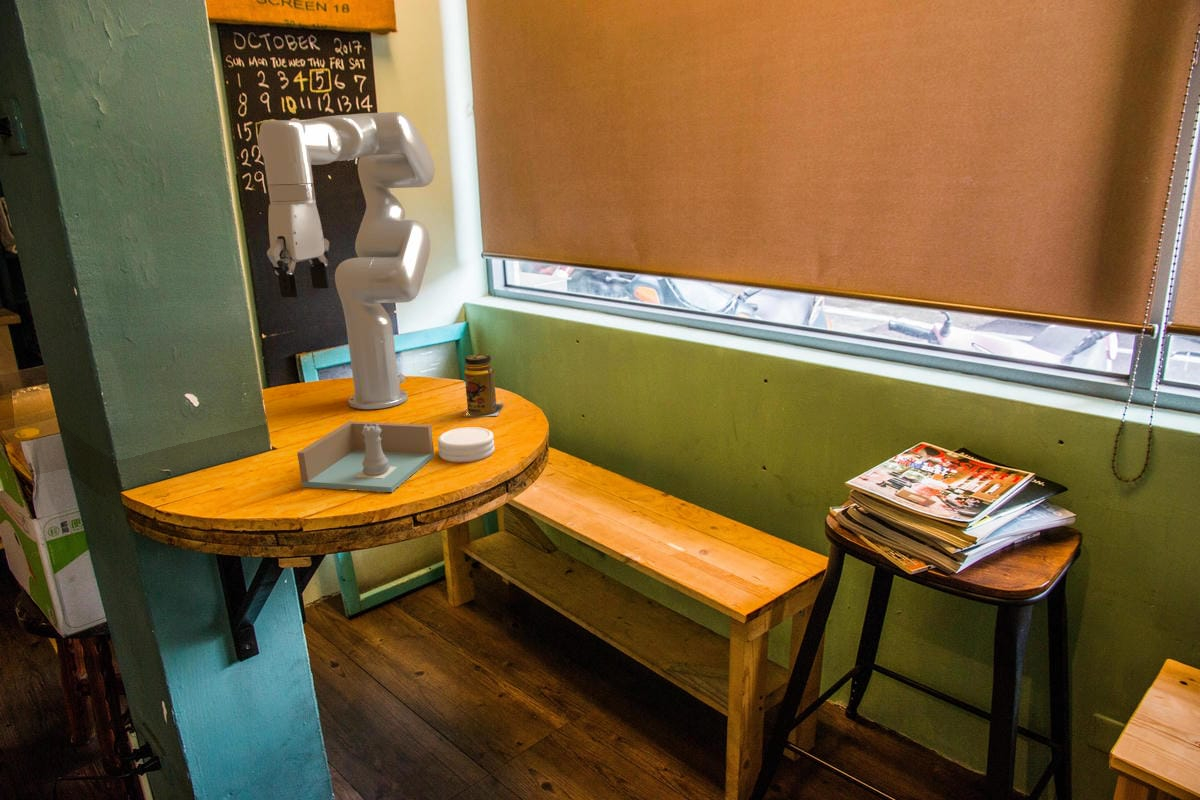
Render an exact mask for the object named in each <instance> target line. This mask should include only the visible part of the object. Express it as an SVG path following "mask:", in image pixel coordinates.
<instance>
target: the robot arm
mask: <svg viewBox="0 0 1200 800" xmlns="http://www.w3.org/2000/svg"><path fill="white" fill-rule="evenodd" d="M257 145H258V146H257V147H258V149H259V152H260V155H261V156H262V157H263V163H264V170H265V175H266V183H267V190H268V195H269V201H270V204H268V236H269V244H270V245H269V246H270V247H269V248H268V250H267V251H266V255H267V258H268V259H269V261H270V263H271V264H270V265H271V267H272V268H273V269H274V273H275V275H277V278H278V284H279V292H280V296H281V297H282V298H299V296H300V294H299V286H298V280H297V279H298V278H297V274H296V273H294V271H295V268H296V265H297V264H296V263H299V262H300V263H301V262H304V261H309V263H310V264H311V266H309V272H310V276H311V277H310V278H311V285H312V288H313V289H329V288H330V281H329V280H330V279H329V273H328V265H329V262H328V258H329V254H330V253H329V248H330V241H329V240H328V239H327V238H325V237H324V234H323V233H324V232H323V228H322V222H321V218H320V214H319V210H318V207H317V200H316V192H315V187H314V186H315V184H314V177H313V170H312V165H313V166H315V165H318V166H319V165H320V166H321V165H327V164H331V163H333V162H341V161H349V160H350V161H351V160H354V159H358V163H357V171H358V172H357V173H358V177H359V181H360V185H361V189H362V193H363V196H364V200H365V205H366V208H365V212H364V213H363V214H364V215H363V217H362V220H361V223H360V226H359V229H358V232H357V235H356V239H355V244H354V246H355V247H354V248H355V249H354V250H355V253H356V254H355V255H356V256H357V257H352V258H348V259H345V260H343V261H341V263H339V265H338V266H337V267H336V269H335V274H334V282H335V287H336V290H337V293H338V297H339V298H340V303H341V306H342V310H343V315H344V320H345V325H346V326H345V327H346V333H347V334H346V335H347V344H348V349H349V352H348V353H349V357H350V365H351V373H352V381H353V389H354V394H353V395H351V396H350V397H349V398H348V401H347V402H348V405H349V406H350V407H351V408H354V409H357V410H379V409H387V408H392V407H395V406H399V405H401V404H404V402H406V401H407V400H408V392H406V391H405V390H403V389H400V385H401V384H402V383H404V382H405V381H406V376H405V375H404V374H401V373H400V374H398V364H397V355H396V348H395V337H394V329H393V322H392V320H391V317H390V315H389V313H388V312H387V311H386V309H385V308H384V306H383V305H382V304H384V303H385V304H386V303H387V304H388V303H389V304H391V303H392V304H395V303H403V304H404V303H410V302H412V301H413V300H415V299H416V297H417V296H418V295H419V292H420V290H421V287H422V284H423V280H424V275H425V274H426V273H425V272H426V269H427V265H428V262H429V258H430V251H431V238H430V234H429V231H428V229H427V227H426V226H425V224H423V223H422V222H420V221H418V220H414V219H405V218H406V211H405V209H404V207H403V204H402V203H401V202H400V200H399V199H398V198H397V197H396V196H395V195H394V194H392V193H391V191H390V189H403V188H404V189H407V188H409V189H411V188H424V187H428V186H429V185H430V184H431V183H432V182H433V179H434V178H435V171H436V170H435V168H436V167H435V163H434V159H433V157H432V154H431V152H430V150H429V148H428V147H427V145H426V143H425V142H424V139H423V138H422V136H421V133H420V132H419V131H418V129H417V127H416V125H415V124H414V123H413V121H412V120H411V118H409V117H408V116H407V115H406V114H404V113H403V112H402V113H401V112H399V111H393V112H392V111H391V112H367V113H366V112H365V113H355V114H354V113H352V114H351V113H350V114H338V115H337V114H336V115H329V116H328V115H327V116H321V117H315V118H311V119H310V118H308V119H300V120H299V119H298V120H293V119H292V120H289V119H285V120H284V119H283V120H282V119H281V120H280V119H278V120H276V119H275V120H267V121H264V122H262V123H261V124H260V127H259V132H258V136H257Z"/></svg>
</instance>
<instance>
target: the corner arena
mask: <svg viewBox="0 0 1200 800" xmlns="http://www.w3.org/2000/svg"><path fill="white" fill-rule="evenodd" d="M371 423H372V426H374V423H376V424H379V428H380V429H381V430H382V431H381V433H380V435H379V436H380V438H381V441H380V442H381V448H382V451H383V454H384V455H385V457H386V458H387V459H388V461H389V463H388V465H389V466H390V468H389V469H388V471H387V472H385V473H383V474H380V475H367V474H365V473H364V472H363V470H362V469H363V468H364V467H363V466H362V462H363V461H364V458H365V454H366V444H365V442H364V440H365V436H364V435H363V434H362V433H361V432H362V430H363V426H364V425H367V427H369V424H371ZM432 430H433V429H432V424H417V423H400V422H399V423H398V422H397V423H395V422H377V421H375V422H374V421H373V422H372V421H357V420H356V421H354V420H353V421H352V420H349V421H346V422H345V423H343V424H342V425H340V426H339V427H337V428H336V429H333V430H332V431H330V432H329V433H327V434H326V435H324V436H322V437H320V438H319V439H317V440H315V441H314V442H313V443H310V444H309V445H307V446H305V447H304V448H302V449H301V450H298V451H297V452H296V453H297V460H298V465H299V473H300V479H301V486H302V488H311V489H325V488H327V490H340V489H354V490H353V491H355V489H356V490H367V491H366V492H369V491H380V492H379V493H384V492H393V491H394V490H395V489H396V488H397V487H398V488H400V487H401V486H402V485H403V484H404V483H405V482H406V481H405V480H407V479H408V478H409V477H410V476H411V475H412V474H414V473H415V472H416V471H417V472H418V471H420V470H421V469H422V468H423V467H424V466H425V465H427V464H426V463H429V462H430V461H431V460H432V459H434V458H435V451H434V450H435V449H434V441H433V440H434V439H433V431H432ZM428 461H429V462H428ZM422 466H423V467H422ZM421 467H422V468H421ZM420 468H421V469H420ZM417 472H416V473H417ZM416 473H415V474H416ZM415 474H414V475H415ZM412 476H413V475H412ZM412 476H411V477H412ZM411 477H410V478H411ZM410 478H409V479H410ZM409 479H408V480H409ZM408 480H407V481H408ZM404 481H405V482H404ZM403 482H404V483H403ZM402 483H403V484H402ZM401 484H402V485H401ZM400 485H401V486H400ZM399 486H400V487H399ZM328 488H329V489H328ZM398 488H397V489H398ZM397 489H396V490H397ZM396 490H395V491H396ZM395 491H394V492H395ZM394 492H393V493H394Z"/></svg>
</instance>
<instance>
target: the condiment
mask: <svg viewBox="0 0 1200 800" xmlns="http://www.w3.org/2000/svg"><path fill="white" fill-rule="evenodd" d="M491 361H492V357H491V356H490V355H489V354H485V353H479V354H478V353H477V354H476V353H475V354H471V355H470V354H469V355H467V356H466V357H465V359H464V362H465V366H464V367H465V370H464V372H463V373H464V381H465V383H464V384H465V394H466V395H465V396H466V405H467V409H466V411H467V412H468V413H469V414H470V415H469V414H468V415H467V416H466V413H467V412H466V411H465V413H464V414H463V415H464V416H463V417H464V418H465V417H495V416H496V417H498V415H499V414H500V412H501V411H502V408H503V406H504V404H505V402H501V403H497V393H496V385H495V384H496V383H495V371H494V368H493V366H492V362H491Z"/></svg>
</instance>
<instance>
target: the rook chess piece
mask: <svg viewBox="0 0 1200 800" xmlns="http://www.w3.org/2000/svg"><path fill="white" fill-rule="evenodd" d="M381 431H382V430H381V429H380V428H379V424H376V423H374V426H372V423H371V424H369V427H367V425H364V426H363V430H362V432H361V433H362V434H363V435H364V436H365V440H364V442H365V444H366V454H365V458H364V461H363V462H362V466H363V467H364V468H363V469H362V470H363V472H364V473H365V474H367V475H380V474H383V473H385V472H387V471H388V469H389V468H390V466H389V465H388V463H389V461H388V459H387V458H386V457H385V455H384V454H383V451H382V448H381V442H380V441H381V438H380V436H379V435H380V433H381Z"/></svg>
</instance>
